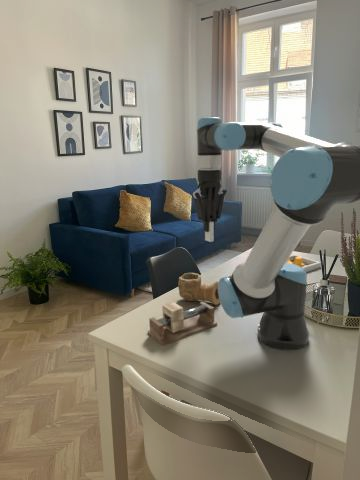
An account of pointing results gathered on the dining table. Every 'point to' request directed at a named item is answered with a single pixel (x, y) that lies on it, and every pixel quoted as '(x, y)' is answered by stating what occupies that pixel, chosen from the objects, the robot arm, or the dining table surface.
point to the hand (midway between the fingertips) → (209, 240)
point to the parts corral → (311, 263)
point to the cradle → (190, 326)
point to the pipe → (197, 289)
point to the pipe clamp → (296, 261)
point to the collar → (174, 316)
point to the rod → (185, 314)
